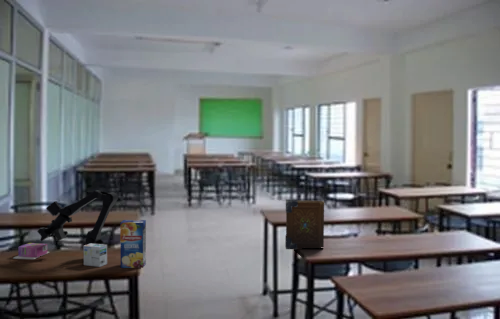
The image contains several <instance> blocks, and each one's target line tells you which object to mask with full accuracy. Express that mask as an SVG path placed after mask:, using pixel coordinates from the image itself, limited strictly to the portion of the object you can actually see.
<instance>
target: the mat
mask: <svg viewBox="0 0 500 319" xmlns="http://www.w3.org/2000/svg"><path fill="white" fill-rule="evenodd" d="M49 253H50V251H47V254H49ZM45 255H46V254H44V255H42V256H45ZM42 256H41V257H42ZM39 258H40V256H39V257H37V258H36V257H21V256H18V255H16V256H14V257H13V258H12V259H17V260H36V259H39Z"/></svg>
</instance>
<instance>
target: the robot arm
mask: <svg viewBox="0 0 500 319" xmlns="http://www.w3.org/2000/svg"><path fill="white" fill-rule="evenodd" d="M96 199H98V200H100V201H102V208H101V209H100V212H99V214H98V216H97V219H96V221H95V224H94V226H93V229H91V230H88V231H87V234H86V235H85V237H84V239H85V243H86V244H85V245H87V244H90V243H92V244H103V245H105V242H104V240H102V239H101V237H102V230H103V227H104V225H105V223H106V221H107V218H108V216H109V213H110V211H111V209H112V208H113V207H114V205H115V204H117V201H118V199H119V196H118V194H117V193H116V192H115V191H113V192H107V191H104V190H99V189H98V190H94V191H92V192H91V193H89V194H88V195H86V196H84V197H83V198H82V199H80V200H78V201H77V202H74V203H72V204H68V205H67V206H64V207H63V206H61V205H60V203H59V202H57V201H53V202H52V203H50V204H49V205H48V206H46V210H47V212H48V213H50V215H51V216H52V217H54V216H55V219H52V220H51V221H50V222H51V223H49V224H47V225H46V227H40V228H38V230H37V233H38V234H39V235H40V241H41V242H43V241H45V240H46V239H48V238H52V237H54V236H55V238H56V241H61V240H63V239H66V237H67V235H68V234H69V233H68V230H64V225H65V224H66V223H72V222H73V219H72V218H73V217H72V216H74V215H76V214H77V213H79V211H80V210H81V209H82V208H83V207H85V206H87V205H88V204H90V203H92V202H93V201H94V200H96Z"/></svg>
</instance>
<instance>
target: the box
mask: <svg viewBox="0 0 500 319" xmlns="http://www.w3.org/2000/svg"><path fill="white" fill-rule="evenodd" d="M17 249H18V250H17V251H18V252H17V253H18V255H17V256H21V257H36V259H38V258H40V257H39V256H41V257H42V255H43V256H45V255H47V254H48V253H47V252H48V243H35V242H28V243H26V244H22V245H20V246H18V248H17ZM44 254H45V255H44ZM37 257H38V258H37Z"/></svg>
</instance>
